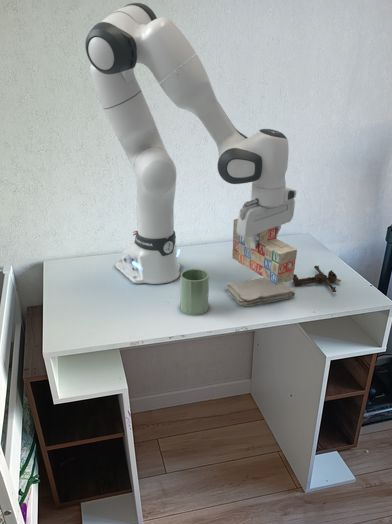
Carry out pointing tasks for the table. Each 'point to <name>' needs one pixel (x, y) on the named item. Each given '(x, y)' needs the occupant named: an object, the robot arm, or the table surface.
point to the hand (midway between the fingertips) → (263, 243)
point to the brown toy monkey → (318, 279)
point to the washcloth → (258, 291)
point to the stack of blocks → (266, 255)
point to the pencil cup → (194, 291)
